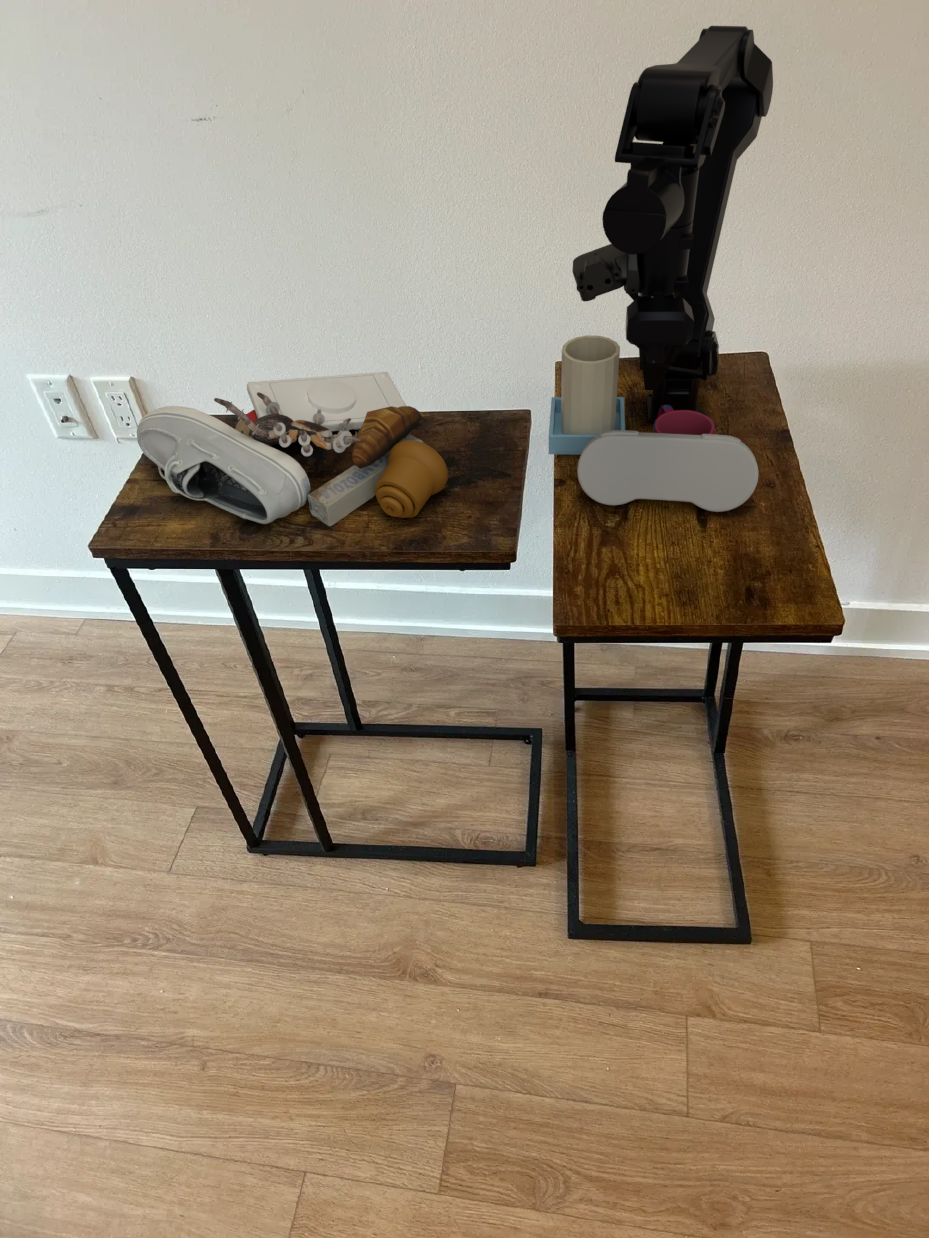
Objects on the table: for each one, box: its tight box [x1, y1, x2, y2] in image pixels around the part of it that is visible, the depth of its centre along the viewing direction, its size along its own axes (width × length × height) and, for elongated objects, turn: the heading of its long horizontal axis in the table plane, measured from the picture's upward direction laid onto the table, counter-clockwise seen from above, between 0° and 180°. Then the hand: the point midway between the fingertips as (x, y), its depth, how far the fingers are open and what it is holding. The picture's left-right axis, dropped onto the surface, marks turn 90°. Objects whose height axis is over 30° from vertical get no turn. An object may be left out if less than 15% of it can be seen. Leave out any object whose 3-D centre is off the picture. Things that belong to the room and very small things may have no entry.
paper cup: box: [560, 334, 621, 435], centre depth 107 cm, size 7×7×11 cm
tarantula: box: [213, 392, 361, 457], centre depth 105 cm, size 16×17×5 cm
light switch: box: [246, 371, 407, 432], centre depth 115 cm, size 11×2×19 cm
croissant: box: [351, 405, 423, 469], centre depth 103 cm, size 14×7×5 cm
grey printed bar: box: [307, 433, 424, 527], centre depth 105 cm, size 4×16×5 cm
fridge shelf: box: [548, 396, 626, 455], centre depth 111 cm, size 9×9×3 cm
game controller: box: [576, 429, 759, 513], centre depth 98 cm, size 20×2×8 cm, turn 79°
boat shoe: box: [136, 405, 311, 525], centre depth 104 cm, size 25×9×8 cm
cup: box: [652, 405, 716, 435], centre depth 103 cm, size 7×10×7 cm
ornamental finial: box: [374, 440, 449, 519], centre depth 101 cm, size 8×8×8 cm
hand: (647, 370), depth 96 cm, fingers open, 9 cm apart
